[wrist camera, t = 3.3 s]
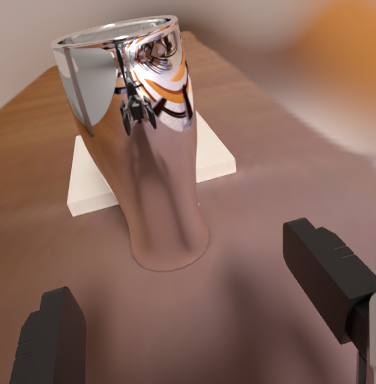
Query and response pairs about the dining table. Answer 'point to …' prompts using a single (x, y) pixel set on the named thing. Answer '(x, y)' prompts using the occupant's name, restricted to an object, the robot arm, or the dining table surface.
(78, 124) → the shiny silver metal cup
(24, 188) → the dining table surface
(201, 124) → the ceramic tile
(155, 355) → the dining table surface
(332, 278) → the robot arm
